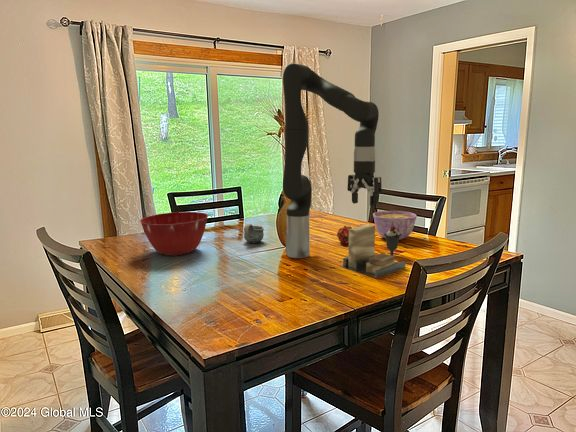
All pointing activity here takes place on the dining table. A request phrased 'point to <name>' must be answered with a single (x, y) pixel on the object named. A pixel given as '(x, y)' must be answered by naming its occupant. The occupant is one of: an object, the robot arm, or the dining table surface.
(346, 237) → the dragon fruit
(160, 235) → the mixing bowl
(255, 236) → the mug
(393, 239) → the sundae
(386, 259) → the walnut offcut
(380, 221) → the bowl of food
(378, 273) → the rack
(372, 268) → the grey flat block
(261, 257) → the dining table surface
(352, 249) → the pale wood block
